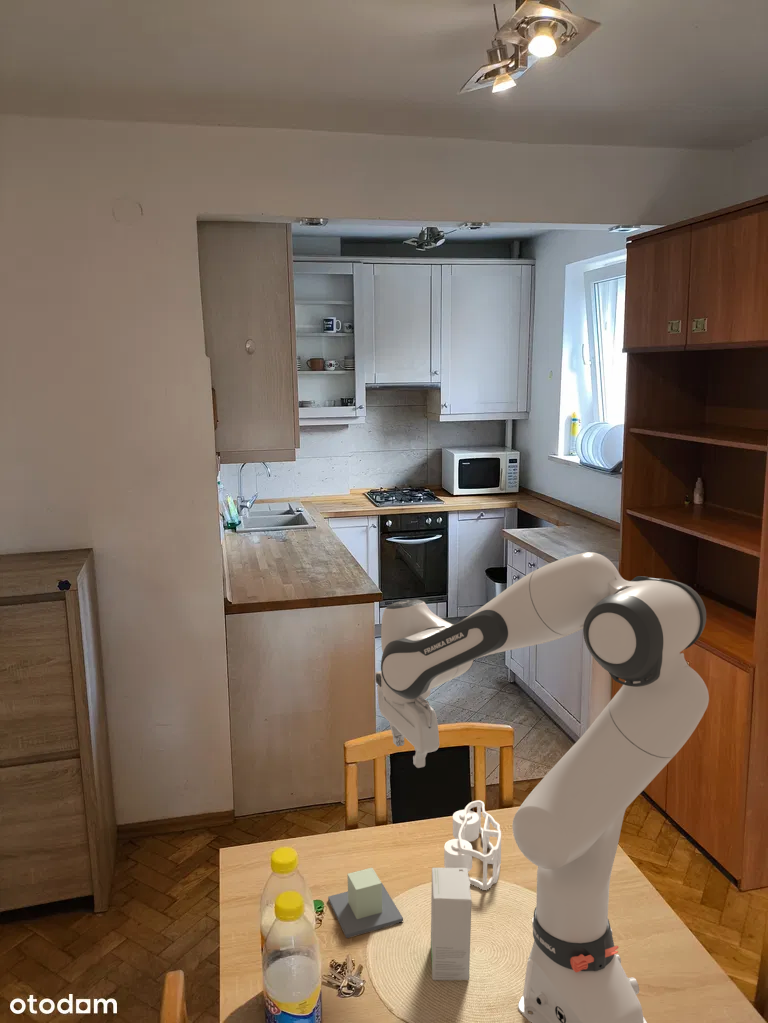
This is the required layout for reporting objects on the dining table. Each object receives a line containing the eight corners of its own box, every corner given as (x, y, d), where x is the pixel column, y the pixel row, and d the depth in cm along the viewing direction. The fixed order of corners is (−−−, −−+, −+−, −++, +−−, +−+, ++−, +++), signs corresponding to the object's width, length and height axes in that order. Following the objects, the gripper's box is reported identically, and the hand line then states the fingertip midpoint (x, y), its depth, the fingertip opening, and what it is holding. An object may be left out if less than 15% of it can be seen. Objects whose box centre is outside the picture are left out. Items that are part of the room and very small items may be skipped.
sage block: (382, 912, 142) (381, 883, 141) (356, 919, 140) (356, 889, 139) (372, 895, 146) (372, 867, 145) (348, 902, 145) (347, 873, 144)
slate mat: (403, 921, 140) (403, 918, 140) (346, 938, 136) (346, 934, 136) (381, 886, 150) (381, 882, 150) (328, 900, 147) (328, 896, 146)
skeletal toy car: (455, 827, 170) (455, 797, 169) (505, 834, 167) (506, 803, 166) (440, 884, 151) (440, 850, 150) (496, 892, 148) (497, 858, 147)
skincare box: (430, 945, 134) (430, 865, 132) (468, 946, 134) (468, 865, 132) (432, 982, 126) (431, 897, 124) (472, 983, 126) (472, 898, 123)
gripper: (447, 701, 133) (448, 775, 135) (400, 665, 152) (402, 730, 154) (414, 708, 131) (416, 783, 133) (371, 670, 150) (373, 736, 152)
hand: (408, 754), depth 144 cm, fingers open, 8 cm apart
